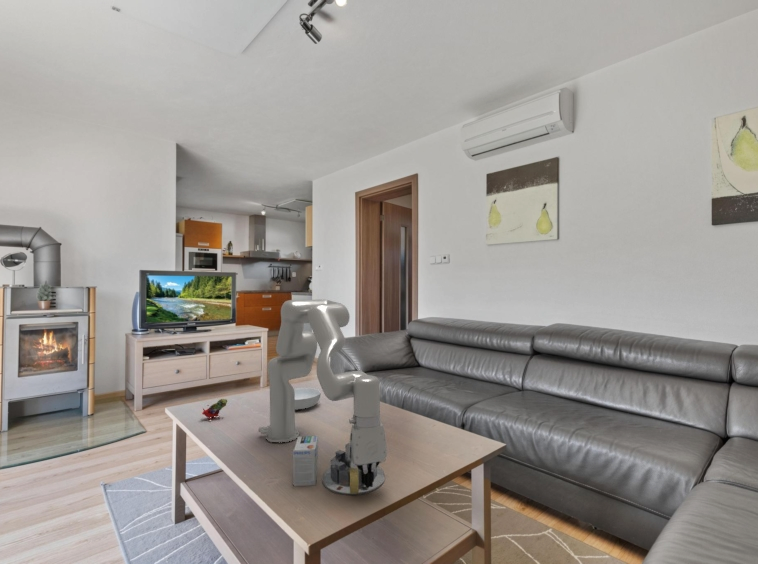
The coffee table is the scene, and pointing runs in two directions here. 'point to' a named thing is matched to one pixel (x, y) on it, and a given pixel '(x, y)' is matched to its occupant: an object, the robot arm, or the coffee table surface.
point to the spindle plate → (346, 489)
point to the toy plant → (215, 408)
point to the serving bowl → (306, 397)
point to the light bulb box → (305, 461)
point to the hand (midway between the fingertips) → (368, 485)
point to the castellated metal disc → (346, 473)
